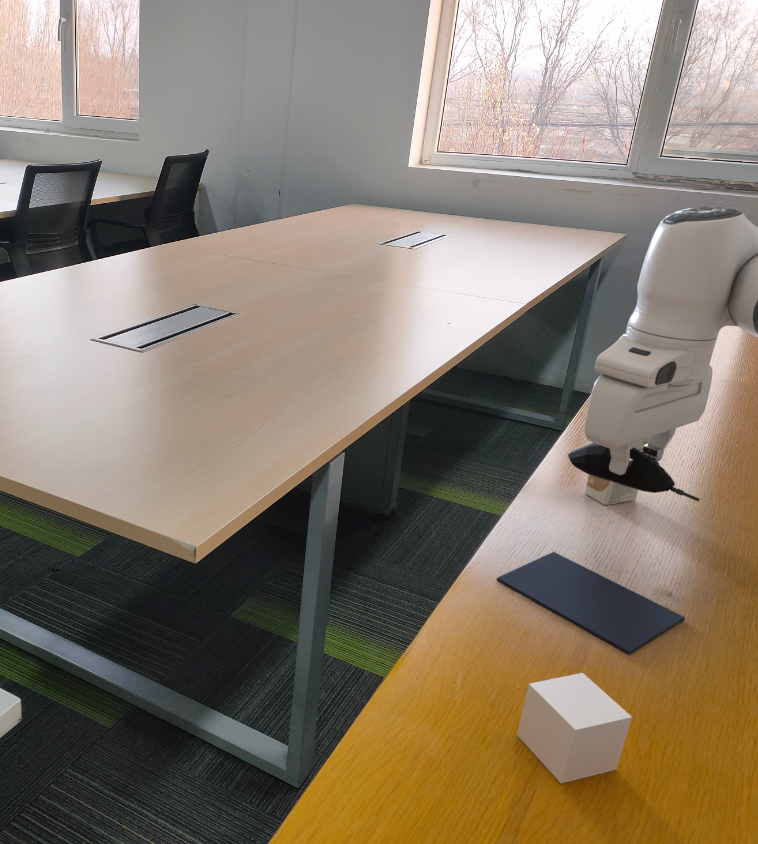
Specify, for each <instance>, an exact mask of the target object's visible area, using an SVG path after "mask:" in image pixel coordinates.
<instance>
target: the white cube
mask: <svg viewBox="0 0 758 844" xmlns="http://www.w3.org/2000/svg"><path fill="white" fill-rule="evenodd" d="M632 720H633V716H632V715H631V714H630V713H628V712H627V711H626V710H625V709H624V708H623V707H621V706H620V705H619V704H618V703H617V702H616V701H615V700H614V699H612V697H610V695H608V694H607V693H606V692H605V691H604V690H603V689H602V688H600V687H599V686H598V685H597V684H596V683H595V682H594V681H593V680H592V679H590V678H589V677H588V676H587V675H586V674H585V673H584V672H580V673H575V674H569V675H565V676H560V677H559V676H558V677H555V678H549V679H546V680H540V681H536V682H530V683H528V686H527V690H526V694H525V698H524V703H523V706H522V711H521V716H520V720H519V723H518V728H517V733H516V736H517V737H518V738H519V739H520V741H522V743H524V744H525V746H526V747H528V750H530V751H531V752H532V754H534V756H535V757H536V758H537V760H539V761H540V762H541V763H542V765H544V766H545V768H546V769H547V770H548V771H549V772H550V774H552V776H553V777H554V778H555V779H556V780H557V781H558V783H560V784H566V783H568V782H569V783H570V782H573V781H577V780H580V779H585V778H589V777H594V776H597V775H601V774H605V773H609V772H610V773H611V772H613V771H617V769H618V765H619V762H620V759H621V755H622V753H623V749H624V746H625V743H626V739H627V736H628V733H629V729H630V727H631V722H632Z"/></svg>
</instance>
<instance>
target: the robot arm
mask: <svg viewBox="0 0 758 844" xmlns="http://www.w3.org/2000/svg"><path fill="white" fill-rule="evenodd" d="M651 237H652V238H651V240H650V243H649V245H648V248H647V251H646V254H645V256H644V261H643V262H642V267H641V270H640V273H639V279H638V281H637V286H636V287H637V288H636V289H637V301H636V305H635V308H634V310H633V312H632V313H631V315H630V316H629V319H628V322H627V326H626V330H625V333H624V334H622V335H621V336H620V337H619V338H618V339H617V341H615V342H614V343H613V344H612V345H610V346H609V347H607V348H606V349H605V350H604V351H602V352H601V353H600V354H598V356H597V358H596V361H595V365H594V371H595V372H596V373H597V374H601V375H599V376H598V377H597V379H596V380H595V382H594V384H593V387H592V388H591V389H592V390H591V392H590V397H589V401H588V406H587V409H586V415H585V421H584V427H583V429H584V434H585V437H586V439H587V441H589V442H591V443H596V444H599V445H601V446H604V447H607V448H609V449H610V453H611V461H610V465H609V470H610V471H611V472H613V473H616V474H618V475H622V474H625V473H628V472H629V471H630V469H631V465H632V462H633V460H632V459H630V449H632V448H633V446H634V442H637V441H639V440H642V439H645V438H648V437H650V439H649V441H648V444H647V445H644V447H643V453H644V454H646V455H648V456H649V457H651V458H652V459H653V460H656V461H658V462H661V460H662V459H663V456H664V452H665V449H666V448H667V446H668V445H669V443H670V442H671V440H672V439H673V437H674V436H675V433H676V431H677V429H678V428H680V427H684V426H686V425H689V424H692V423H695V422H698V421H699V420H700V419H701V418H702V416H703V415H704V413H705V410H706V407H707V402H708V400H709V395H710V389H711V385H712V381H713V380H712V379H713V368H712V366H711V365H710V364H711V360H712V357H713V354H714V350H715V347H716V343H717V340H718V336H719V333H720V331H721V329H723V328H724V327H727V326H729V327H737V328H739V329H740V330H742V331H743V332H745V333H747V334H749V335H751V336H754V337H756V338H758V226H757V225H755V224H753V222H751V221H750V220H749V219H748V218H747V217H746V215H745V213H744V212H743V211H742V210H739V209H736V208H733V207H726V206H725V207H724V206H715V207H714V206H711V207H710V206H701V207H691V208H690V207H689V208H685V209H681V210H680V209H679V210H676V212H672V213H670V214H668V215H667V216H665V217H664V218H663V219H662V220H661V221H660V223H659V224H658V226H657V227H656V229H655V231H654V233H653V235H652V236H651Z"/></svg>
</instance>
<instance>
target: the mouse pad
mask: <svg viewBox="0 0 758 844" xmlns="http://www.w3.org/2000/svg"><path fill="white" fill-rule="evenodd" d="M496 581H497V582H499V583H501V584H502V585H504V586H506V587H508V588H510V589H511V590H513V591H515V592H516V593H519V594H520V595H522V596H524V597H525V598H527V599H529V600H531V601H532V602H534V603H536V604H538V605H539V606H541V607H543V608H545V609H547V610H548V611H550V612H552V613H554V614H555V615H557V616H559V617H561V618H563V619H565V620H566V621H569V622H570V623H572V624H573V625H575V626H577V627H579V628H580V629H582V630H584V631H587V632H588V633H590V634H591V635H593V636H594V637H597V638H598V639H600V640H602V641H604V642H605V643H607V644H608V645H611V646H613V647H614V648H616V649H618V650H620V651H622V652H624V653H625V654H627V655H631V654H633V653H634V652H636V651H638V650H640V649H641V648H642V647H644V646H645V645H647V644H648V643H650V642H652V641H653V640H655V639H656V638H658V637H660V636H662V635H663V634H664V633H666V632H668V631H669V630H672V628H674V627H676V626H677V625H679V624H681V623H682V622H684V621H685V619H686V616H683V615H681V614H680V613H678V612H676V611H674V610H673V609H669V608H668V607H666V606H664V605H662V604H659V603H657V602H656V601H654V600H652V599H649V598H647V597H645V596H643V595H642V594H639V593H637V592H636V591H633V590H631V589H629V588H627V587H625V586H623V585H621V584H619V583H617V582H615V581H613V580H612V579H609V578H607V577H605V576H603V575H601V574H599V573H598V572H595V571H593V570H591V569H590V568H587V567H585V566H584V565H582V564H579V563H578V562H575V561H573V560H571V559H569V558H568V557H565V556H563V555H561V554H559V553H557V552H555V551H552V552H550V553H547V554H546V555H544V556H541V557H539V558H537V559H535V560H533V561H530V562H528V563H526V564H524V565H521V566H519V567H518V568H515V569H513V570H511V571H509V572H507V573H504V574H502V575H500V576H498V577H496Z"/></svg>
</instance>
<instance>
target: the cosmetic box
mask: <svg viewBox="0 0 758 844" xmlns="http://www.w3.org/2000/svg"><path fill="white" fill-rule="evenodd" d="M649 439H650V437H648V438H645V439H642V440H639V441H637V442H634V446H633V447H634V448H636V449H638V450H639V451H641V452H643V447H644V445H647V444H648V441H649ZM638 493H639V490H637V489H634V488H630V487H627V486H624V485H621V484H618V483H615V482H611V481H608V480H605V479H601V478H598V477H595V476H592V475H589V474H588V475H587V481H586V484H585V489H584V494H585V495H587V496H588V497H590V498H592V499H593V500H595V501H597V502H598V503H600V504H602V505H604V506H609V505H614V504H620V503H621V504H622V503H627V502H630V501H635V500H637V496H638Z"/></svg>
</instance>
